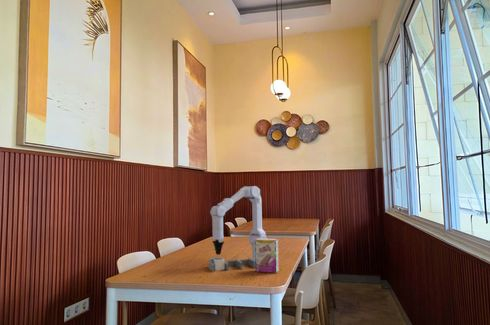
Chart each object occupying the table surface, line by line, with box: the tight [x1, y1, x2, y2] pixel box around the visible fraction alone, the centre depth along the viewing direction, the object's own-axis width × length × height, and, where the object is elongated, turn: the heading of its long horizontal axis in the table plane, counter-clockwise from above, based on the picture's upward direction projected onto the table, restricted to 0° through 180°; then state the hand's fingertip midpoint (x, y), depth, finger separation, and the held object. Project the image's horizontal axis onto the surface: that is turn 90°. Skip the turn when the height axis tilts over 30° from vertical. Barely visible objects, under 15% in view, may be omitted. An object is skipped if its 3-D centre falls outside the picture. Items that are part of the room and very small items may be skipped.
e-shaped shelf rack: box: [207, 256, 256, 273], centre depth 192 cm, size 24×12×5 cm, turn 106°
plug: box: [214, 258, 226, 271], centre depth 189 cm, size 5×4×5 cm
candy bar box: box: [255, 238, 280, 274], centre depth 181 cm, size 11×5×16 cm, turn 71°
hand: (218, 254), depth 189 cm, fingers closed
